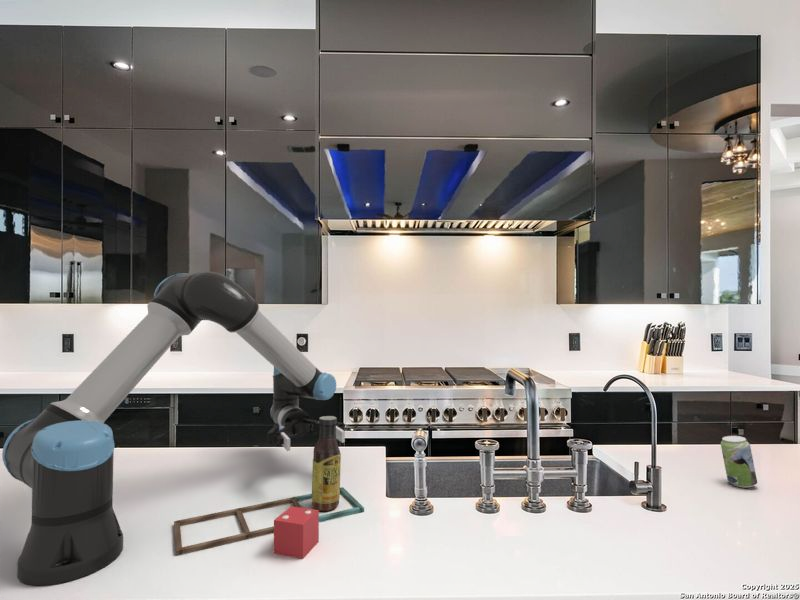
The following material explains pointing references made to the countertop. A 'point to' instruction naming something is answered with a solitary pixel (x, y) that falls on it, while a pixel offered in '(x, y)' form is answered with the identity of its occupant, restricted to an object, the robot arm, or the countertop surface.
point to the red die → (296, 532)
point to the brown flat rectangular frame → (243, 524)
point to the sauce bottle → (326, 467)
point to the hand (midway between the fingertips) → (316, 440)
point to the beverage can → (738, 461)
